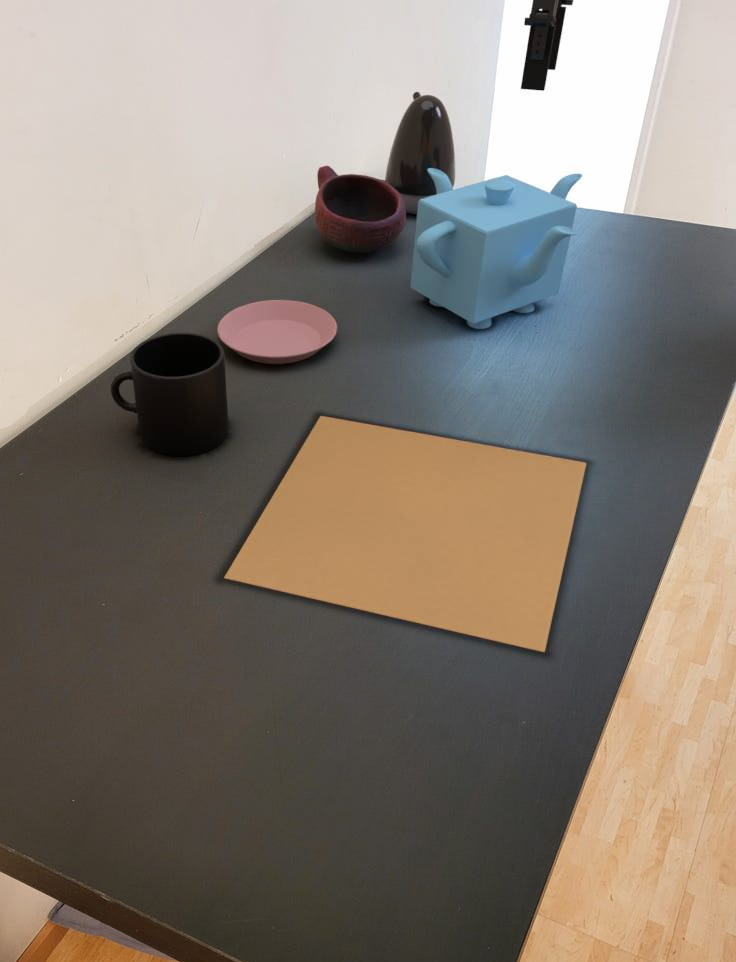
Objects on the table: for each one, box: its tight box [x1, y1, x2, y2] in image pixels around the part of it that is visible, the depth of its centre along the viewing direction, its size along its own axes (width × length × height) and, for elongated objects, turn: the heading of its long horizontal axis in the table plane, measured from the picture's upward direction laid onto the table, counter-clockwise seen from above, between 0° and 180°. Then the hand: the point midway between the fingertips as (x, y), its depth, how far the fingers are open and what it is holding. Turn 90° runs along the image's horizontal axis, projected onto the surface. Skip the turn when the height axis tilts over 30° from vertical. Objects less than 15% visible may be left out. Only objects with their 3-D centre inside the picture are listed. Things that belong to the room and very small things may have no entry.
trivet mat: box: [223, 415, 587, 654], centre depth 88 cm, size 28×28×1 cm
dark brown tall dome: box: [384, 91, 456, 215], centre depth 136 cm, size 10×10×15 cm
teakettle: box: [409, 168, 583, 330], centre depth 113 cm, size 19×19×15 cm
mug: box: [110, 331, 229, 457], centre depth 97 cm, size 9×12×9 cm
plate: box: [217, 299, 338, 365], centre depth 112 cm, size 14×14×2 cm
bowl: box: [314, 165, 407, 254], centre depth 130 cm, size 16×13×8 cm
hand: (538, 78), depth 114 cm, fingers open, 8 cm apart
